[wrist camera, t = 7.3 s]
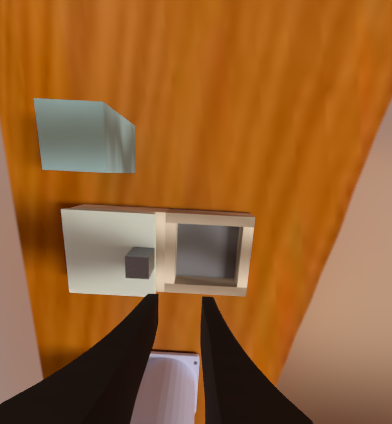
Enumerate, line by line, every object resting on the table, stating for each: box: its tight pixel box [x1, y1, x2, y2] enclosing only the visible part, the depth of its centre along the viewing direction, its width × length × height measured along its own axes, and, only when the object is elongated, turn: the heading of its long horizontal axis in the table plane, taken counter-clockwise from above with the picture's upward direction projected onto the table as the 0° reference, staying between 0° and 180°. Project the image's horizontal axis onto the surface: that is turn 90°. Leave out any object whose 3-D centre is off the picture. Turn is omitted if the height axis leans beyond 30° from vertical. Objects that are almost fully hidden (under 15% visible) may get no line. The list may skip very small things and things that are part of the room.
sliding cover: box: [61, 208, 156, 297], centre depth 17 cm, size 8×8×3 cm
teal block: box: [34, 98, 136, 173], centre depth 15 cm, size 4×4×6 cm
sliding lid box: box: [71, 204, 255, 296], centre depth 19 cm, size 8×18×2 cm, turn 87°
